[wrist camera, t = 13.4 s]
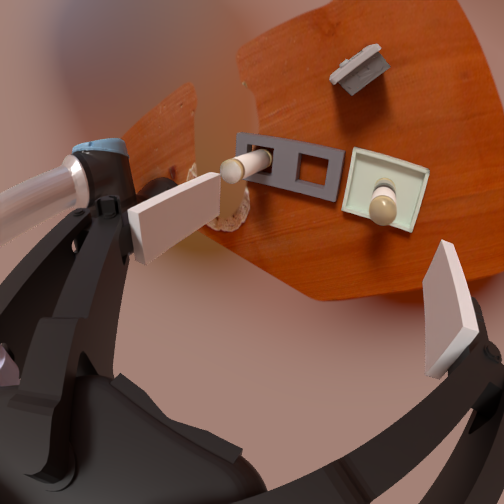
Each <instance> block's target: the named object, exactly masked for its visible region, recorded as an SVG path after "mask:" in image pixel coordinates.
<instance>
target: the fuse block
mask: <svg viewBox="0 0 504 504" xmlns="http://www.w3.org/2000/svg"><path fill="white" fill-rule="evenodd" d="M236 139H237V140H236V157H238V156H240V155H243V154H246V153H249V152H251V151H252V145H257V146H264V147H270V148H274V153H273V164H272V173H267V172H263V171H259V172H257V173H255V174H253V175H250V176H248V177H246V178H244V179H243V180H247V181H252V182H256V183H261V184H265V185H269V186H274V187H278V188H282V189H286V190H290V191H294V192H298V193H302V194H306V195H310V196H314V197H317V198H321V199H325V200H328V201H332V202H336V200H337V197H338V192H339V187H340V182H341V176H342V171H343V165H344V159H345V153H346V151H344V150H340V149H336V148H331V147H327V146H322V145H317V144H312V143H307V142H302V141H297V140H291V139H285V138H279V137H273V136H266V135H259V134H252V133H243V132H241V133H237V138H236ZM302 154H307V155H311V156H316V157H320V158H325V159H329V163H328V169H327V175H326V181H325V186H323V185H319V184H315V183H311V182H307V181H303V180H299V172H300V164H301V156H302Z"/></svg>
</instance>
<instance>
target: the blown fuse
mask: <svg viewBox="0 0 504 504" xmlns="http://www.w3.org/2000/svg"><path fill="white" fill-rule="evenodd" d="M369 215H370V218H371V219H372V221H373V222H375V223H376V224H378V225H382V226H385V225H389V224H391V223H392V222H393V221H394V220H395V218H396V215H397V205H396V187H395V184H394V182H393V181H392V180H390V179H389V178H380V179H379V180H377V181H376V183H375V186H374V190H373V194H372V199H371V203H370V206H369Z"/></svg>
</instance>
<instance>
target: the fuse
mask: <svg viewBox="0 0 504 504" xmlns="http://www.w3.org/2000/svg"><path fill="white" fill-rule="evenodd" d="M272 162H273V155H272V153H271V152H270V151H269V150H267V149H264V148H262V149H259V150H256V151H253V152H249V153H246V154H243V155H240V156H238V157H235V158H232V159H229V160H226V161H224V162H223V163H222V164H221V167H220V174H221V176H222V178H223V180H224V181H226V182H227V183H230V184H234V183H236V182H238V181H240V180H242V179H244V178H246V177H248V176H250V175H253V174H255V173H257V172H259V171H261V170H263V169H265V168H267V167H269V166H271V164H272Z"/></svg>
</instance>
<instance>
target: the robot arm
mask: <svg viewBox="0 0 504 504" xmlns="http://www.w3.org/2000/svg"><path fill="white" fill-rule="evenodd" d="M220 181H221V174H218V173H213V172H209V173H207V174H204V175H202V176H199V177H197V178H195V179H192V180H190V181H188V182H185V183H183V184H181V185H179V186H178V185H177V184H176V183H175V182H173V181H172V180H170V179H168V178H163V177H161V178H157V179H154V180H152V181H150V182H149V183H147V184H146V186H145V187H143V188H142V189H141V190H140V191H139V192H138V193H137V194H136V193H135V188H134V184H133V179H132V174H131V169H130V164H129V155H128V153H127V149H126V145H125V142H124V141H123V140H122V139H119V138H109V139H102V140H96V141H93V142H86V143H82V144H79V145H76V146H75V147H73V151H72V154H71V155H68V156H66V157H65V159H64V161H63V163H62V165H61V166H60V167H57V168H55V169H52V170H49V171H47V172H45V173H42V174H40V175H38V176H35V177H33V178H31V179H29V180H26V181H24V182H22V183H20V184H18V185H16V186H14V187H12V188H10V189H8V190H6V191H4V192H2V193H0V248H1V247H2V246H4V245H5V244H7V243H9V242H10V241H12V240H14V239H15V238H17V237H19V236H20V235H22V234H24V233H25V232H27V231H29V230H31V229H32V228H34V227H36V226H38V225H40V224H41V223H43V222H45V221H47V220H49V219H51V218H53V217H55V216H56V215H58V214H60V213H62V212H64V211H66V210H68V209H70V208H72V207H73V208H75V209H76V210H74V211H72V212H71V213H69V214H68V215H67V216H66V217H65V218H64V219H63V220H61V221H60V222H59V223H58V224H57V225H56V226H55V227H54V228H53V229H52V230H51V231H50V232H49V233H48V234H47V235H46V236H45V237H44V238H42V240H40V241H39V242H38V244H37V245H36V246H35V247H34V248H33V249H32V250H31V251H30V252H29V253H28V254H27V255H26V256H25V257H24V258H23V259H22V260H21V261H20V263H19V264H18V265H17V266H16V267H15V268H14V269H13V270H12V272H11V273H10V274H9V275H8V276H7V277H6V279H5V280H4V281H3V282H2V283H1V285H0V504H370V503H371V502H372V501H373V500H374V499H375V498H377V497H378V496H380V495H381V494H382V493H384V492H385V491H386V490H388V489H389V488H390V487H392V486H393V485H394V484H395V483H397V482H398V481H399V480H400V479H402V478H403V477H404V476H405V475H406V474H407V473H408V472H410V471H411V470H412V469H413V468H414V467H416V466H417V465H418V464H419V463H420V462H421V461H422V460H423V459H424V458H425V457H426V456H428V455H429V454H430V453H431V452H432V451H433V450H434V449H435V448H436V446H438V445H439V444H440V443H441V442H442V440H443V439H444V438H445V437H446V436H447V435H448V434H449V433H450V432H451V431H452V430H453V428H454V427H455V426H456V425H457V424H458V423H459V422H460V420H461V419H462V418H463V417H464V415H465V414H466V413H467V412H468V411H469V409H470V408H472V409H473V412H472V414H471V416H470V418H469V420H468V423H467V425H466V427H465V429H464V431H463V433H462V435H461V437H460V439H459V441H458V443H457V445H456V447H455V449H454V450H453V452H452V454H451V456H450V458H449V459H448V461H447V463H446V464H445V466H444V468H443V469H442V471H441V472H440V474H439V476H438V477H437V479H436V480H435V482H434V483H433V485H432V486H431V488H430V489H429V490H428V492H427V493H426V495H425V496H424V497H423V499H422V500H421V501H420V503H419V504H497V502H498V500H499V498H500V496H501V494H502V492H503V489H504V365H503V364H502V363H501V361H502V358H501V354H500V351H499V349H498V348H497V347H496V345H494V344H493V343H492V342H490V341H489V340H488V335H487V331H486V327H485V323H484V319H483V316H482V311H481V307H480V305H479V304H478V302H477V300H476V299H475V298H474V297H471V296H470V293H469V290H468V286H467V283H466V280H465V277H464V274H463V270H462V268H461V265H460V262H459V259H458V256H457V253H456V251H455V248H454V245H453V244H451V243H449V242H446V241H444V240H441V242H440V244H439V246H438V249H437V251H436V253H435V256H434V258H433V260H432V262H431V265H430V267H429V269H428V271H427V273H426V275H425V277H424V279H423V281H422V282H423V293H424V307H425V338H426V339H425V340H426V342H425V343H426V346H425V347H426V348H425V375H426V376H429V377H432V378H436V379H440V378H441V377H442V376H443V375H444V374H445V373H446V372H447V371H448V377H447V378H446V379H445V380H444V381H443V382H442V383H441V384H440V385H439V386H438V387H437V388H436V389H435V390H433V391H432V392H431V393H430V394H429V395H428V396H427V397H426V398H425V399H423V400H422V401H421V402H420V403H419V404H418V405H416V406H415V407H414V408H413V409H412V410H410V411H409V412H408V413H407V414H405V415H404V416H403V417H402V418H400V419H399V420H398V421H397V422H395V423H394V424H393V425H391V426H390V427H388V428H387V429H385V430H384V431H383V432H381V433H380V434H378V435H377V436H375V437H374V438H373V439H371V440H369V441H368V442H367V443H365V444H364V445H362V446H360V447H359V448H357V449H355V450H354V451H352V452H350V453H349V454H347V455H345V456H344V457H342V458H340V459H338V460H336V461H334V462H331V463H329V464H328V465H326V466H324V467H322V468H320V469H318V470H316V471H314V472H312V473H310V474H308V475H306V476H303V477H301V478H299V479H297V480H294V481H292V482H290V483H288V484H285V485H283V486H280V487H278V488H276V489H273V490H270V491H267V488H266V486H265V484H264V481H263V480H262V478H261V476H260V474H259V473H258V472H257V471H256V469H255V468H254V467H253V466H252V465H251V464H250V463H249V462H248V461H247V460H246V459H245V458H243V457H242V456H241V455H242V450H243V449H242V448H240V447H238V446H236V445H234V444H232V443H230V442H228V441H226V440H224V439H222V438H219V437H218V436H216V435H214V434H212V433H210V432H208V431H206V430H202V429H199V428H196V427H192V426H189V425H186V424H183V423H180V422H177V421H174V420H171V419H169V418H168V417H166V415H165V414H164V413H162V411H161V410H160V409H159V408H158V407H157V406H156V404H155V403H154V402H153V401H152V399H151V398H150V397H149V396H148V395H147V393H146V392H145V391H144V390H142V389H141V388H139V387H138V386H137V385H135V384H134V383H133V382H131V381H130V380H129V379H128V378H126V377H125V376H124V375H122V374H121V373H120V374H119V375H118V376H117V377H116V378H115V379H114V375H113V358H114V349H115V340H116V333H117V325H118V319H119V312H120V306H121V300H122V294H123V289H124V284H125V279H126V274H127V269H128V265H129V255H131V254H132V253H134V254H135V260H136V261H138V262H140V263H142V264H144V265H147V264H149V263H150V262H151V261H153V260H154V259H155V258H157V257H158V256H160V255H161V254H163V253H164V252H165V251H167V250H168V249H170V248H171V247H172V246H174V245H175V244H177V243H178V242H180V241H181V240H183V239H184V238H186V237H187V236H188V235H190V234H191V233H193V232H194V231H196V230H197V229H199V228H200V227H202V226H203V225H205V224H206V223H208V222H209V221H211V220H212V219H214V218H215V217H217V216H218V215H219V209H220V183H221V182H220ZM73 240H74V244H75V247H76V250H75V251H74V252H73V250H72V242H73ZM1 343H2V345H1ZM20 378H21V379H20Z"/></svg>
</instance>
